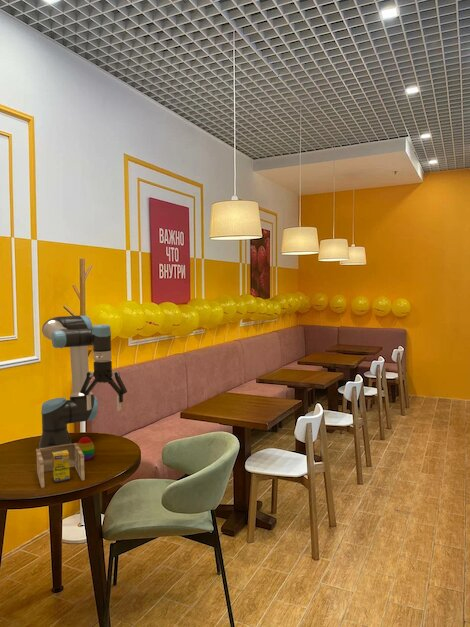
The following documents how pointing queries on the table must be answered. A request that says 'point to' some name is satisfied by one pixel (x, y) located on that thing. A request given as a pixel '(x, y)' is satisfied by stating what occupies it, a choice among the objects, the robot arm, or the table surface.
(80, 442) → the decorative egg
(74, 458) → the brown wooden frame
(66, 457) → the supplement box
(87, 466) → the table surface
